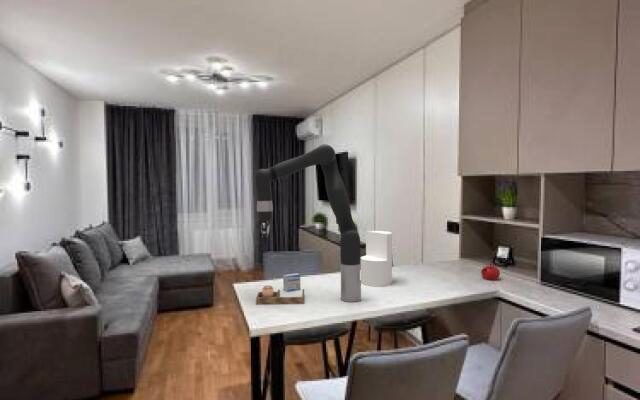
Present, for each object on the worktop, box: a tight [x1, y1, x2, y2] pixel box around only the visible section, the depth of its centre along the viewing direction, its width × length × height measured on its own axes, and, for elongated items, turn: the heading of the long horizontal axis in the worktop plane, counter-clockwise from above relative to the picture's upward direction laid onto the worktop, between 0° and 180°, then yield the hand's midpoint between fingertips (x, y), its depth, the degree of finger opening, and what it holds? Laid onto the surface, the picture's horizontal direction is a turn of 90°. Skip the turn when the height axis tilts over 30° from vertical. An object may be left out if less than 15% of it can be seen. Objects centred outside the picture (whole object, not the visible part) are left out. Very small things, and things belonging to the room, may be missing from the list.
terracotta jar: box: [261, 285, 274, 297], centre depth 176 cm, size 5×5×7 cm
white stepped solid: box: [360, 230, 393, 288], centre depth 210 cm, size 17×17×28 cm
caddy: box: [255, 288, 305, 306], centre depth 178 cm, size 22×13×4 cm, turn 92°
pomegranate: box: [480, 262, 501, 281], centre depth 217 cm, size 10×10×9 cm
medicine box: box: [282, 272, 301, 293], centre depth 194 cm, size 8×4×9 cm, turn 122°
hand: (265, 243), depth 183 cm, fingers open, 8 cm apart
